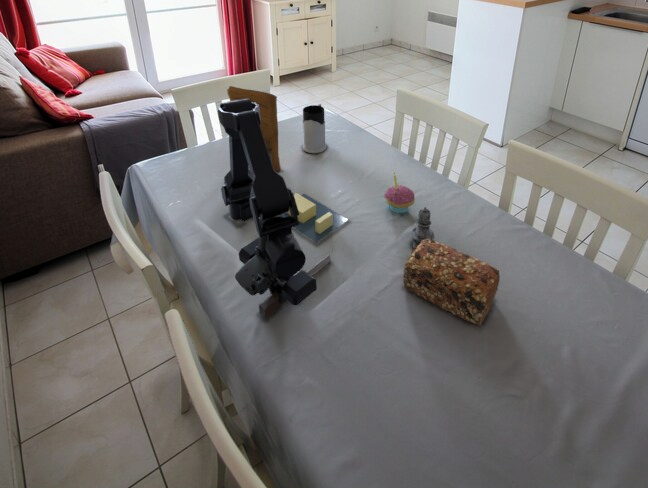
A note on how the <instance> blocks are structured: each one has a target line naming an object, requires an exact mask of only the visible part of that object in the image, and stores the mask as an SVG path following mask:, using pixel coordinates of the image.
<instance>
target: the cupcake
mask: <svg viewBox="0 0 648 488" xmlns="http://www.w3.org/2000/svg"><path fill="white" fill-rule="evenodd" d="M393 180H394V185H391V186H390V187H389V188H387V189H386V190H385V192H384V199H385V201H386V204H387V205H388V206H389V209H390V210H391V211H393V212H395V213H397V214H402V213H404V214H406V213H407V212H408V209H409V208H410V207H412V206H413V205H414V204H415V200H416V198H415V193H414V191H413V190H412V189H411V188H410V187H407V186H405V185H402V184H398V180H397V174H396V172H393Z"/></svg>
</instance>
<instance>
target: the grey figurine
mask: <svg viewBox="0 0 648 488" xmlns="http://www.w3.org/2000/svg"><path fill="white" fill-rule="evenodd" d="M416 224H417V225H416V227H414V228H413V229H412V230H410V231H411V232H410V235H411V238H412V241H411V244H410V245H411V248H412V250H413V249H414V248H415V247H416V246H418V245H419V244H420V242H421V241H422V240H425V239H431V240H434V239H435V233H434V231H433V230H432V229H431V228H430V226H431V225H432V221H431V211H430V210H429V208H427V207H426V206H424V207H423V208H420V209H419V210H418V218H417V219H416Z"/></svg>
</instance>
